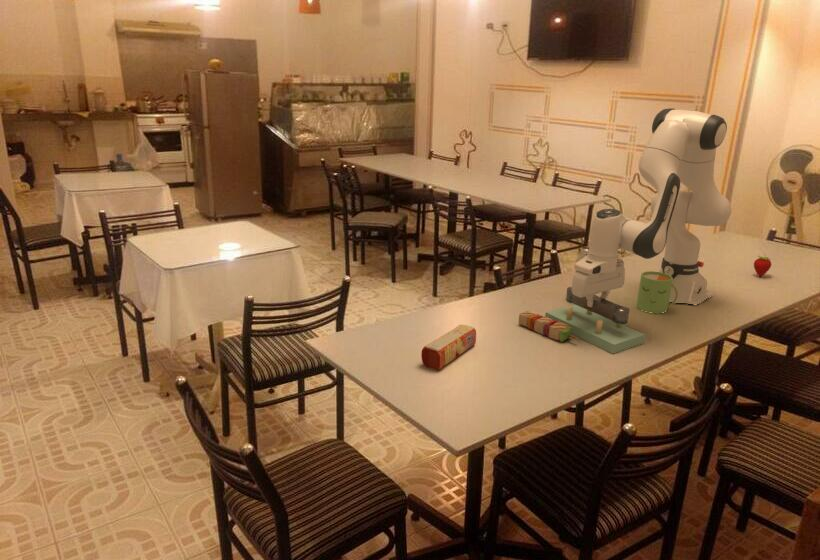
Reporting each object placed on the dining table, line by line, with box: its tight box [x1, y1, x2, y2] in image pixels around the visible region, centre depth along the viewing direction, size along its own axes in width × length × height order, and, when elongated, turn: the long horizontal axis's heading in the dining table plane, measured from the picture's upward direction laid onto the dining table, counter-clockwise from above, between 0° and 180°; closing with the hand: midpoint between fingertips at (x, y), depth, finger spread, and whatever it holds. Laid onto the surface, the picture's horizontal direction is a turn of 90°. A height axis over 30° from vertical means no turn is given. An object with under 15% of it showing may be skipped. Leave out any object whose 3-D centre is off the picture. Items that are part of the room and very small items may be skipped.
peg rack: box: [545, 304, 646, 355], centre depth 191 cm, size 14×28×7 cm, turn 32°
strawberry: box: [753, 253, 772, 277], centre depth 245 cm, size 6×8×10 cm
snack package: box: [420, 324, 477, 371], centre depth 174 cm, size 21×7×7 cm, turn 145°
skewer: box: [518, 310, 579, 343], centre depth 190 cm, size 21×6×5 cm, turn 42°
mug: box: [635, 270, 678, 313], centre depth 210 cm, size 13×10×12 cm
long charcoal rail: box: [565, 286, 630, 325], centre depth 189 cm, size 4×23×4 cm, turn 32°
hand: (596, 304), depth 189 cm, fingers closed on long charcoal rail, 3 cm apart
